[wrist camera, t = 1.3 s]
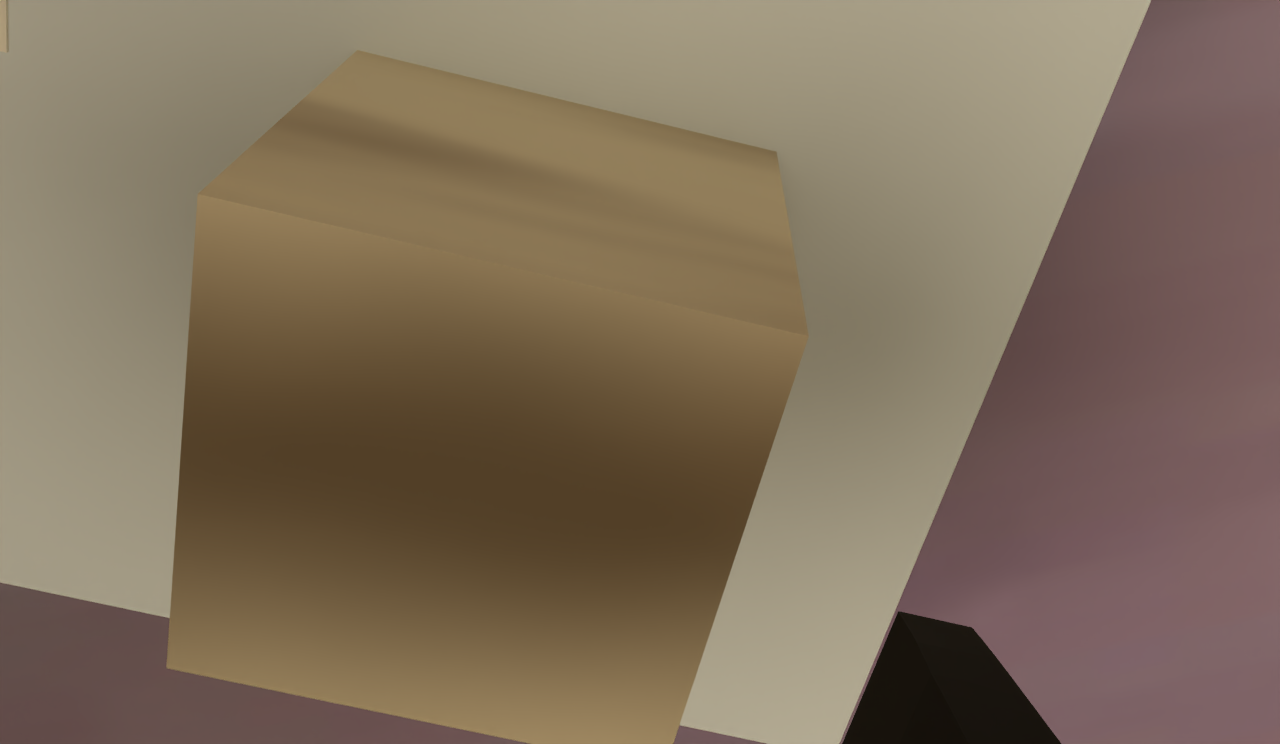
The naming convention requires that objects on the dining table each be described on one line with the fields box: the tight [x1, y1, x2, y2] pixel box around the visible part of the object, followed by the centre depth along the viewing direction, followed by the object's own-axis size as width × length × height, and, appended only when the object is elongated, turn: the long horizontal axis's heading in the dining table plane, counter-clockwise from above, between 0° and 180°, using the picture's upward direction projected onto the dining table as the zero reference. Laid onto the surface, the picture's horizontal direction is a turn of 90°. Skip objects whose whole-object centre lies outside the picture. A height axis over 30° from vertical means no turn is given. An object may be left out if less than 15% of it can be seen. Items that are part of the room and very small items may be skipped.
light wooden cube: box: [166, 50, 809, 744], centre depth 13 cm, size 5×5×5 cm
